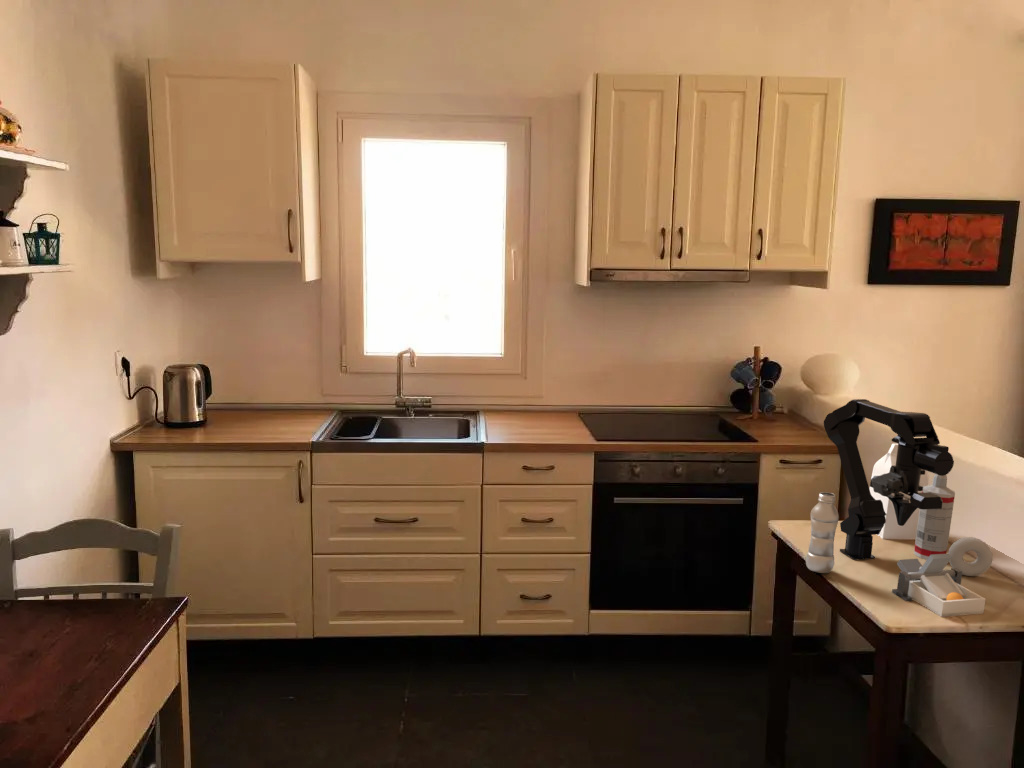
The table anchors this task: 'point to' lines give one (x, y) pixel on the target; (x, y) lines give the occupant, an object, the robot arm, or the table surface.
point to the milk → (891, 526)
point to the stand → (905, 579)
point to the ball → (954, 596)
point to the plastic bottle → (822, 534)
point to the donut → (974, 545)
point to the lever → (932, 574)
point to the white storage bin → (944, 608)
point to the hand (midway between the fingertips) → (900, 525)
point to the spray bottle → (935, 521)
